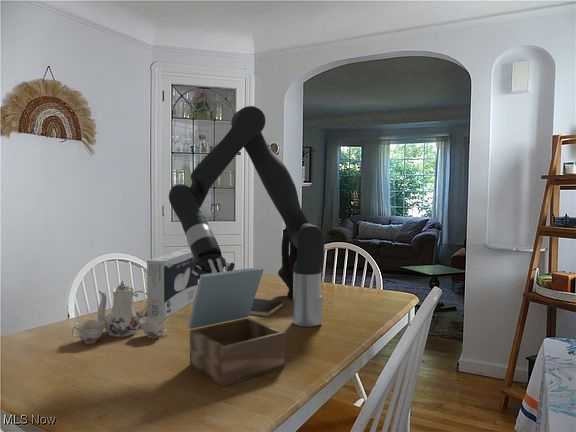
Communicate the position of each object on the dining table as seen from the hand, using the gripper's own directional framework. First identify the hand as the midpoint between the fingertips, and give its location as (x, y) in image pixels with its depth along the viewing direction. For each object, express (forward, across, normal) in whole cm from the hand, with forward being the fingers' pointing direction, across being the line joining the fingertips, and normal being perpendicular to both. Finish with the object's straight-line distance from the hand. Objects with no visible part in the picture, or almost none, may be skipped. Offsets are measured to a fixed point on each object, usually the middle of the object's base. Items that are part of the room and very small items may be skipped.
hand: (224, 296), depth 119 cm
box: (+16, 0, +7) cm, 18 cm away
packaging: (-26, +12, +52) cm, 59 cm away
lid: (+1, 0, -1) cm, 1 cm away
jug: (-16, +60, +41) cm, 74 cm away
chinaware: (-12, -14, +37) cm, 42 cm away
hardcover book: (-14, +34, +41) cm, 55 cm away
